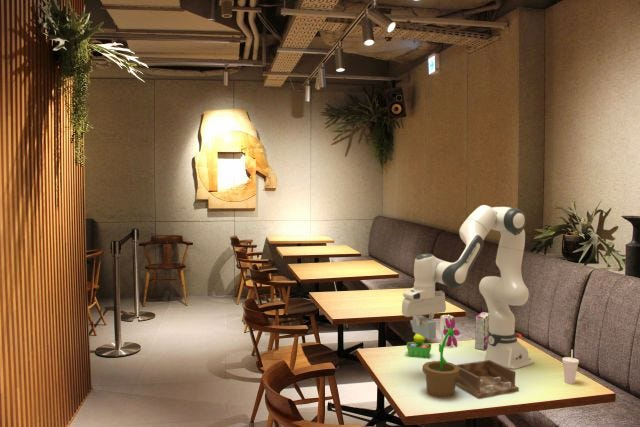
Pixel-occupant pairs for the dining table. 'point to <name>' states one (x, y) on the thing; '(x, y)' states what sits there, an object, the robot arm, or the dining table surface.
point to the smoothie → (570, 368)
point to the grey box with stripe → (425, 327)
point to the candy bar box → (481, 331)
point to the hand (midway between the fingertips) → (424, 324)
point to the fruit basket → (419, 347)
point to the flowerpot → (443, 367)
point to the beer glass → (443, 326)
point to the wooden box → (486, 379)
